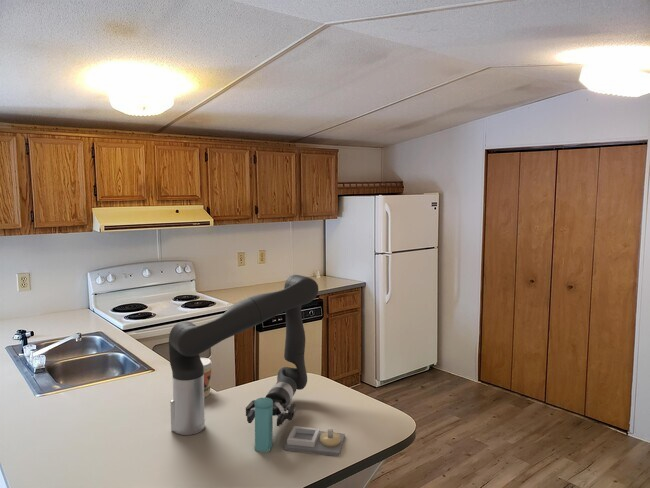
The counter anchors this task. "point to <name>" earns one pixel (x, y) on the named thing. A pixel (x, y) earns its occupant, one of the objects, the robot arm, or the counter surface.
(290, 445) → the housing
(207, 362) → the coffee cup
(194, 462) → the counter surface
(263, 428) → the lidded tumbler
